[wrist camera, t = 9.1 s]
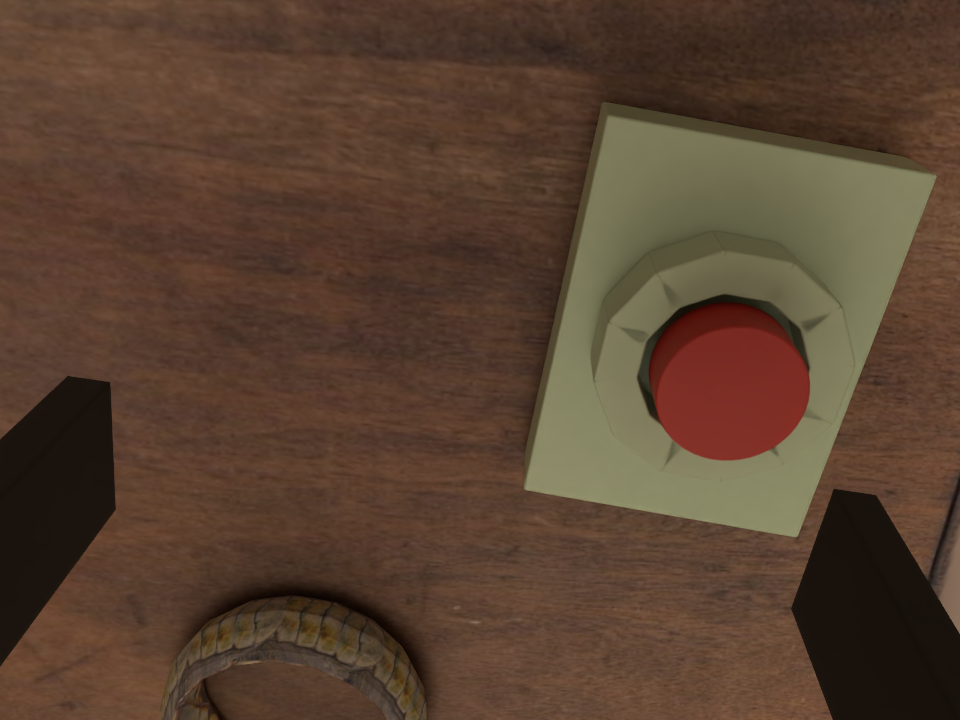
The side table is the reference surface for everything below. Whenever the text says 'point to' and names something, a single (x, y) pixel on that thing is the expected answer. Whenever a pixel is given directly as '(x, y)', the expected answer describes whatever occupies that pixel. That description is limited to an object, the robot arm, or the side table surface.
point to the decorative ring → (296, 655)
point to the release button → (728, 381)
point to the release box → (713, 279)
